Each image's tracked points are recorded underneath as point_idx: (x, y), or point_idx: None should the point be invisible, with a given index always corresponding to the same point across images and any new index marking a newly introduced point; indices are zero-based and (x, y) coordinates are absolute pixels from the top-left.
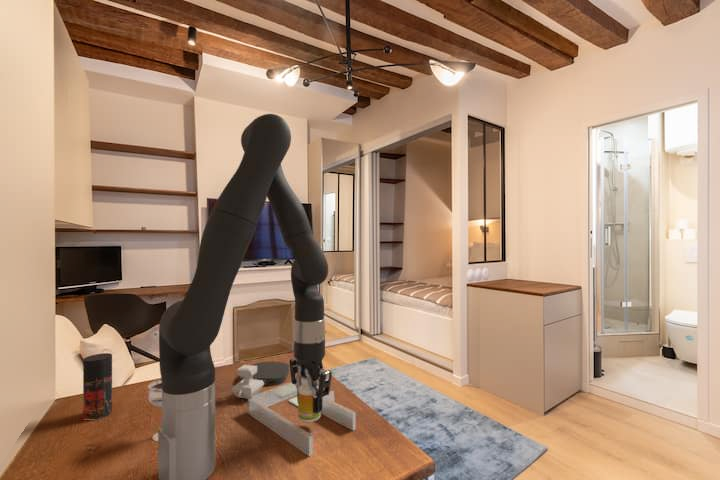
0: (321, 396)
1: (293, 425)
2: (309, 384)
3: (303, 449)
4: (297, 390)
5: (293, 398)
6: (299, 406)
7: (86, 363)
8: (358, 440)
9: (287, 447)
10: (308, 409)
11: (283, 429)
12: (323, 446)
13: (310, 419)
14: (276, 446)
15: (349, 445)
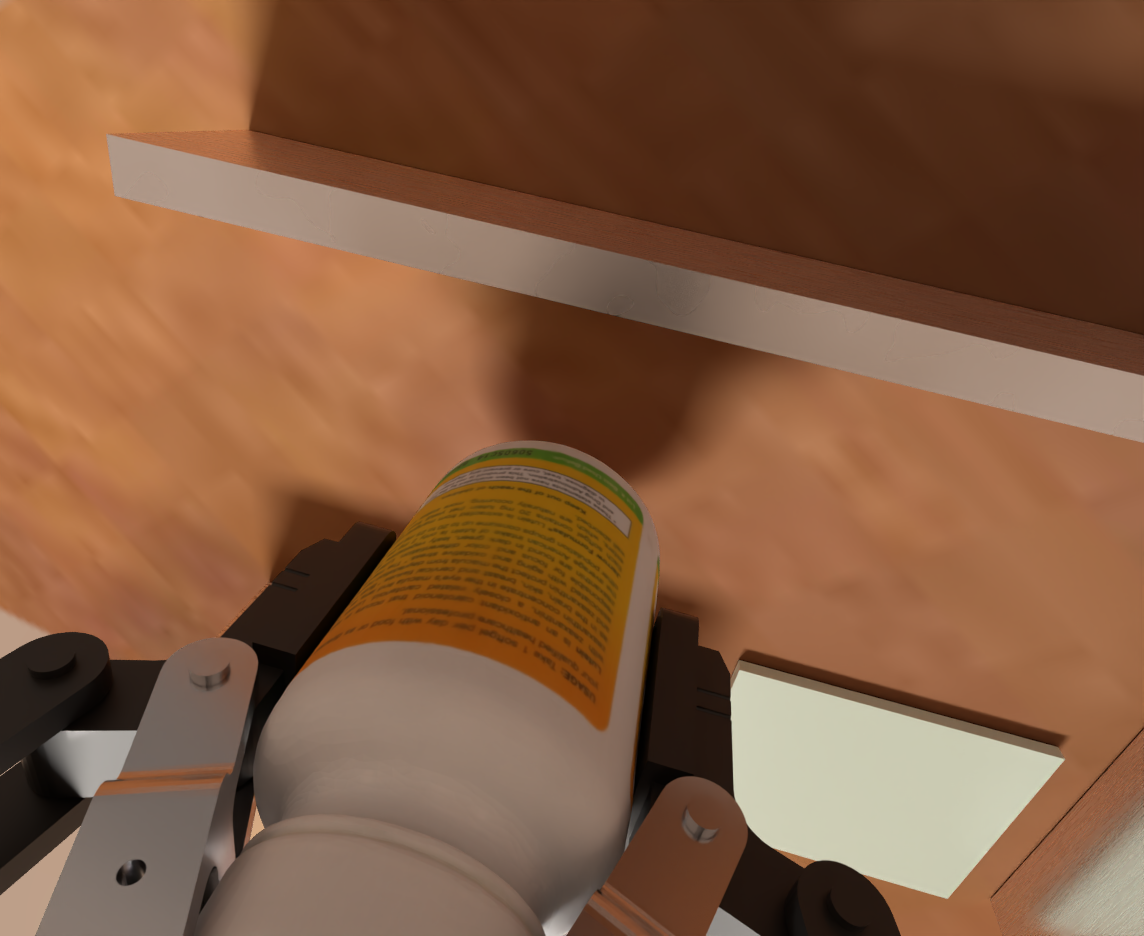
0: (20, 652)
1: (447, 241)
2: (171, 834)
3: (315, 150)
4: (726, 770)
5: (1024, 791)
6: (555, 531)
7: None
8: (158, 504)
9: (515, 124)
10: (418, 526)
11: (652, 239)
12: (276, 322)
13: (444, 476)
14: (628, 65)
15: (152, 428)
